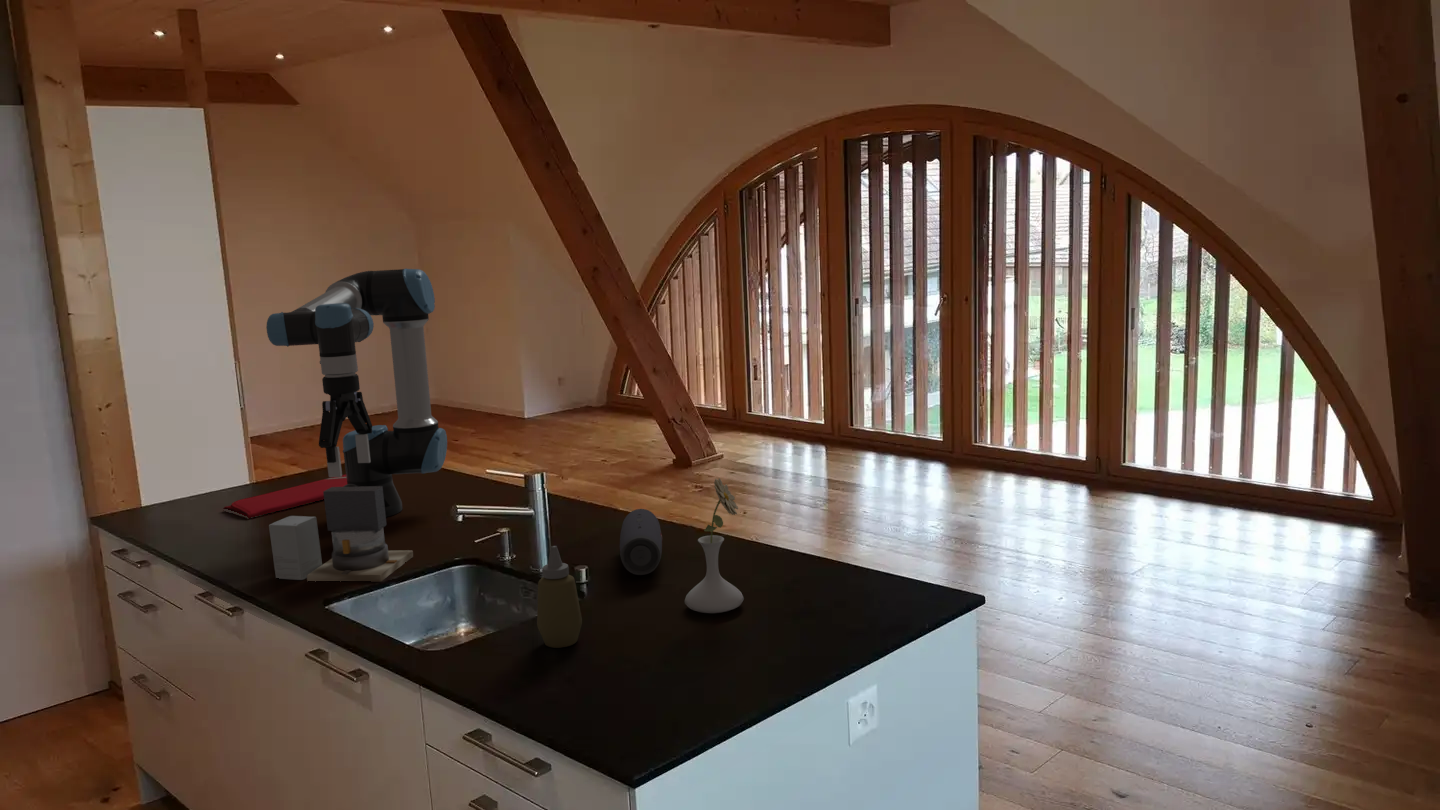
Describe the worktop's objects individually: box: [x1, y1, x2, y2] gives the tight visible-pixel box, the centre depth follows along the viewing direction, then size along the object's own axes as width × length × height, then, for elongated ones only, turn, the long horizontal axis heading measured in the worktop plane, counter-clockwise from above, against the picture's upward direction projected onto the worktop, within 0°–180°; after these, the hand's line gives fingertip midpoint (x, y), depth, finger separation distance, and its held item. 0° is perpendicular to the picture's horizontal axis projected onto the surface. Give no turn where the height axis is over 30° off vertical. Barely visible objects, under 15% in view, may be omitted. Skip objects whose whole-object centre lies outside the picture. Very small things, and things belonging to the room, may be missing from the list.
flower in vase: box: [684, 477, 745, 614], centre depth 205 cm, size 13×11×25 cm
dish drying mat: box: [222, 473, 347, 518], centre depth 308 cm, size 16×41×4 cm, turn 139°
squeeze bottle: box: [536, 545, 583, 649], centre depth 191 cm, size 8×8×18 cm
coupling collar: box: [323, 486, 387, 557], centre depth 238 cm, size 12×12×14 cm
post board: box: [306, 543, 414, 583], centre depth 240 cm, size 17×17×4 cm
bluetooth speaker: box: [619, 508, 663, 576], centre depth 234 cm, size 23×9×10 cm, turn 4°
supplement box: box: [268, 515, 323, 581], centre depth 238 cm, size 7×7×13 cm
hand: (350, 469), depth 236 cm, fingers open, 13 cm apart
